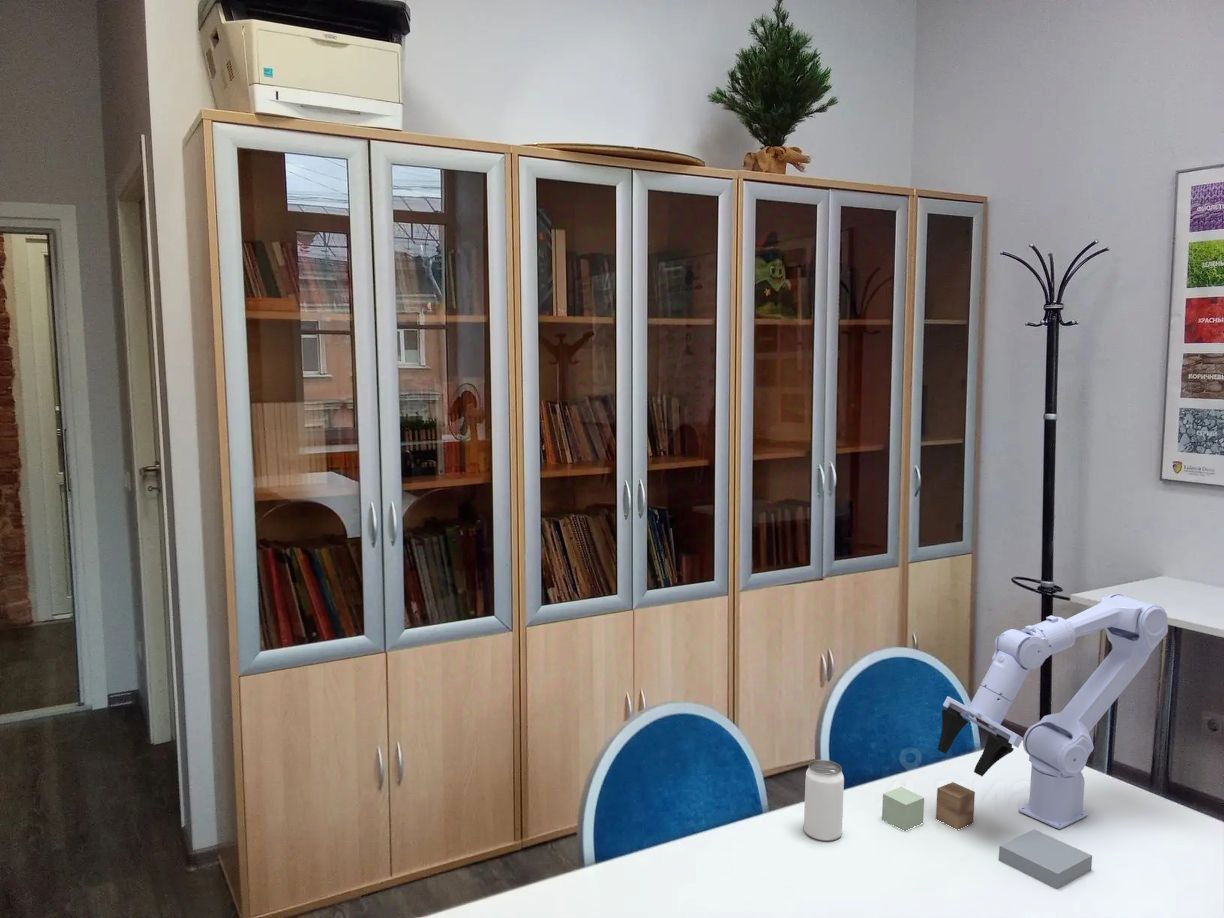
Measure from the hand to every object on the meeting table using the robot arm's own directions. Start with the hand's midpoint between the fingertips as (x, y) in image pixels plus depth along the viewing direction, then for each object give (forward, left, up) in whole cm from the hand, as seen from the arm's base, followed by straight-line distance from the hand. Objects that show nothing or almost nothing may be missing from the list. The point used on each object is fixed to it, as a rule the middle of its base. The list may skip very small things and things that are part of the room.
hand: (959, 762), depth 158 cm
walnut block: (-2, -2, -12) cm, 13 cm away
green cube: (+6, -7, -12) cm, 15 cm away
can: (+21, -12, -13) cm, 27 cm away
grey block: (-2, +15, -13) cm, 20 cm away
